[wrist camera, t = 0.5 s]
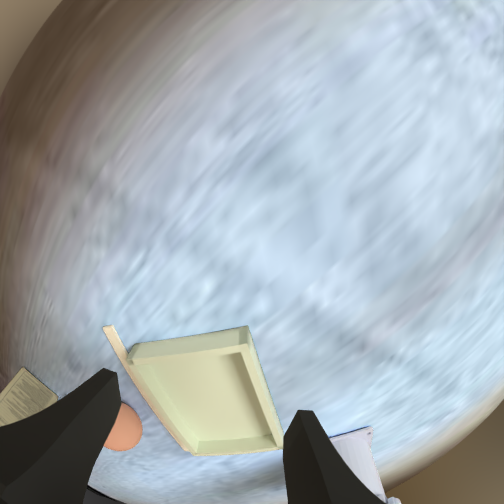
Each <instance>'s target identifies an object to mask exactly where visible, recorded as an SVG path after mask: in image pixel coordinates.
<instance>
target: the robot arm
mask: <svg viewBox="0 0 504 504" xmlns="http://www.w3.org/2000/svg"><path fill="white" fill-rule="evenodd" d="M121 405H122V403H121V397H120V391H119V384H118V377H117V373H116V372H113V371H110V370H108V369H105V368H103V369H101V370H100V371H99V372H97V373H96V374H95V375H93V376H92V377H91V378H90V379H88V380H87V381H86V382H84V383H83V384H82V385H80V386H79V387H78V388H76V389H75V390H73V391H72V392H70V393H69V394H68V395H66V396H65V397H63V398H62V399H60V400H58V401H57V402H55V403H54V404H52V405H50V406H49V407H47V408H45V409H43V410H41V411H40V412H38V413H36V414H33V415H31V416H29V417H27V418H24V419H22V420H19V421H17V422H14V423H11V424H8V425H4V426H0V504H83V499H84V495H85V492H86V488H87V484H88V481H89V478H90V475H91V472H92V469H93V466H94V464H95V462H96V460H97V458H98V456H99V454H100V452H101V450H102V448H103V446H104V444H105V442H106V440H107V438H108V436H109V434H110V432H111V430H112V428H113V426H114V424H115V421H116V419H117V416H118V413H119V410H120V407H121ZM372 436H373V427H367V428H364V429H360V430H357V431H354V432H351V433H347V434H343V435H340V436H336V437H332V438H328V436H327V434H326V433H325V431H324V429H323V428H322V426H321V424H320V422H319V421H318V419H317V417H316V415H315V414H314V412H313V411H309V410H298V411H297V413H296V415H295V417H294V418H293V420H292V422H291V424H290V426H289V428H288V429H287V431H286V433H285V435H284V437H283V463H284V472H285V480H286V489H287V497H288V504H401V502H400V500H399V499H397V498H394V497H391V498H389V499H387V498H386V496H385V493H384V490H383V487H382V484H381V480H380V477H379V474H378V471H377V468H376V465H375V462H374V458H373V455H372V452H371V443H372Z"/></svg>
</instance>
